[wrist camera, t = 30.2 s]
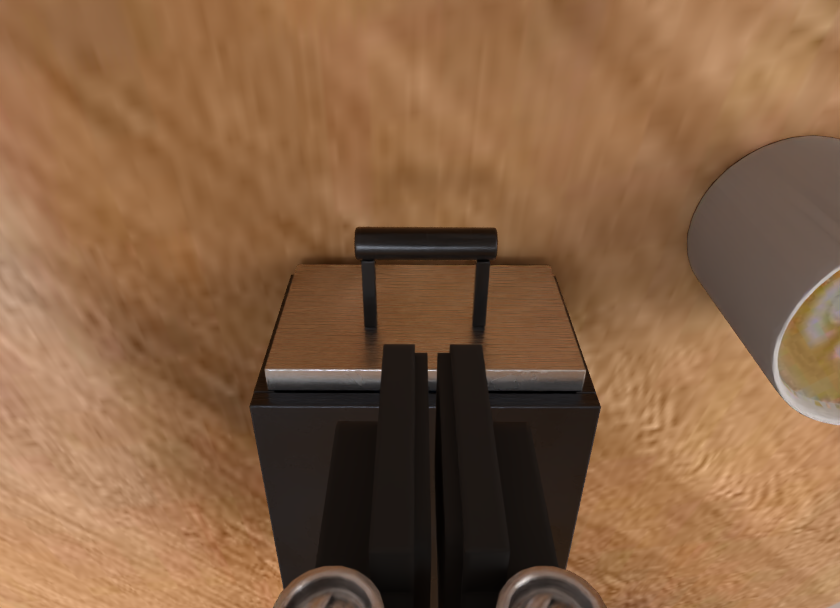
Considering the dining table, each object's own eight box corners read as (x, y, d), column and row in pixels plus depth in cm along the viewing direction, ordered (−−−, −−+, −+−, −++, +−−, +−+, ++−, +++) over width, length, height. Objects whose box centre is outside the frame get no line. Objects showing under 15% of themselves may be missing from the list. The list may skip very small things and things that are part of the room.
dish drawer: (287, 177, 32) (247, 268, 24) (562, 179, 32) (605, 270, 24) (319, 466, 43) (299, 588, 36) (522, 467, 43) (544, 588, 36)
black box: (290, 274, 36) (248, 406, 27) (555, 275, 36) (601, 406, 27) (315, 479, 45) (290, 629, 36) (526, 480, 45) (553, 629, 36)
